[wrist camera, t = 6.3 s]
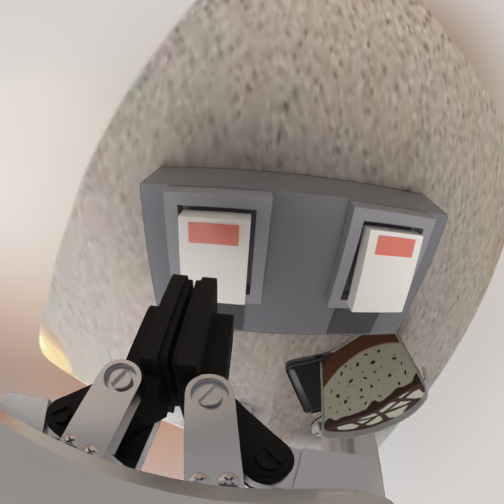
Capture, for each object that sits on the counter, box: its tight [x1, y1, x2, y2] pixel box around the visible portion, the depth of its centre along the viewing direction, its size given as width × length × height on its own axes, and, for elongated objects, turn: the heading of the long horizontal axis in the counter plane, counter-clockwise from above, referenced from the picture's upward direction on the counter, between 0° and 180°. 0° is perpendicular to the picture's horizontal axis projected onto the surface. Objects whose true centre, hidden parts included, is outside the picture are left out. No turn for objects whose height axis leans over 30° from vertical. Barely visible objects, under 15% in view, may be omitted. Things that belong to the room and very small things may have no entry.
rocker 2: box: [347, 224, 423, 312], centre depth 17 cm, size 6×4×1 cm
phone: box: [286, 351, 334, 413], centre depth 34 cm, size 8×1×15 cm
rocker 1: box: [178, 209, 251, 305], centre depth 17 cm, size 6×4×1 cm
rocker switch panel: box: [140, 167, 448, 335], centre depth 20 cm, size 12×21×5 cm, turn 86°
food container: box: [317, 332, 429, 439], centre depth 25 cm, size 12×6×10 cm, turn 137°
